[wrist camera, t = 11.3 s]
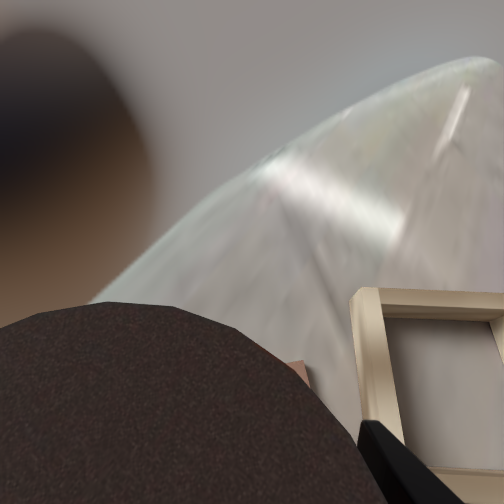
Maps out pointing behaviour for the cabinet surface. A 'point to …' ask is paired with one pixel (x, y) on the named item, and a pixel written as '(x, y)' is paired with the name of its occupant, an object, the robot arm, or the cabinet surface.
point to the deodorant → (163, 415)
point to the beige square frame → (380, 371)
